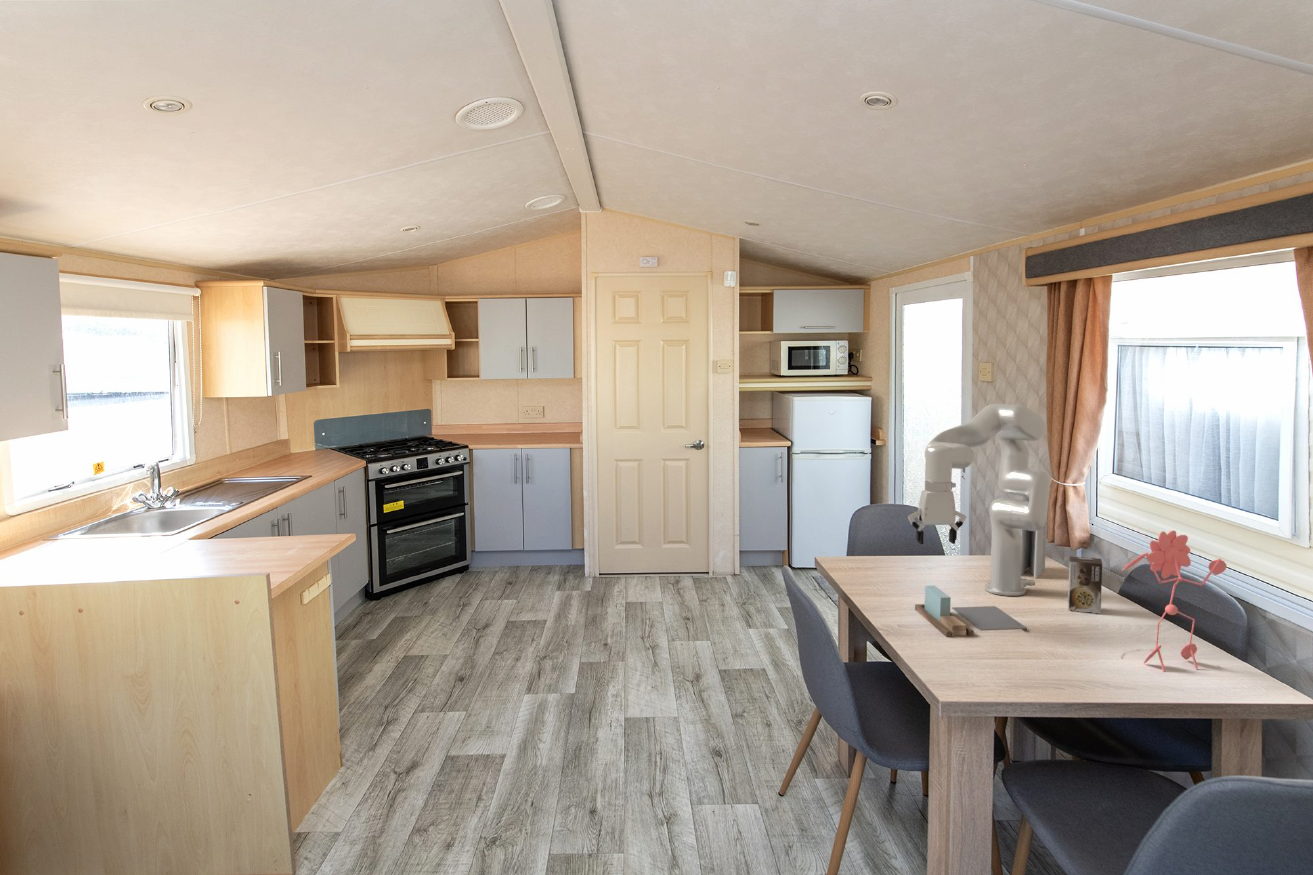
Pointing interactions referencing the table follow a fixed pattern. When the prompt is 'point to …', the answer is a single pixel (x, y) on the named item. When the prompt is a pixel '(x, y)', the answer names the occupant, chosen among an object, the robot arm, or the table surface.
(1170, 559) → the figurine
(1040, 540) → the grey upright slab
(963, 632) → the block
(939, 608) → the teal rectangular block
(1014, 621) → the mat
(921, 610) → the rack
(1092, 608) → the coffee box
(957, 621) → the offcut top
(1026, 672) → the table surface
